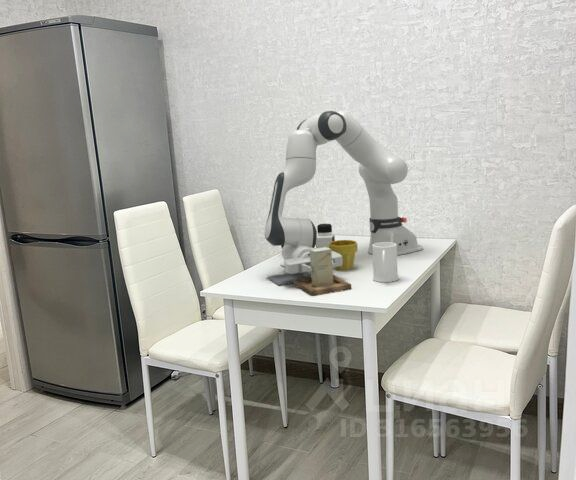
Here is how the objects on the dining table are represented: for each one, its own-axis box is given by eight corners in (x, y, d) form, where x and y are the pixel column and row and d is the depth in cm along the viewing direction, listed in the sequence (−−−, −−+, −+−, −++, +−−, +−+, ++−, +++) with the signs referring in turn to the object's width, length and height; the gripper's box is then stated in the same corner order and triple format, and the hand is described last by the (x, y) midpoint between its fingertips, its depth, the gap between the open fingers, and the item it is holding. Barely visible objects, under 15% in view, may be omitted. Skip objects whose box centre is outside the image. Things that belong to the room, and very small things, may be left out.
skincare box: (317, 288, 187) (314, 251, 185) (311, 285, 191) (308, 249, 189) (334, 284, 190) (331, 248, 187) (328, 281, 194) (325, 246, 191)
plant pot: (355, 272, 207) (353, 245, 205) (327, 271, 210) (325, 245, 208) (360, 265, 216) (359, 239, 214) (334, 264, 220) (332, 239, 218)
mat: (298, 273, 210) (298, 271, 210) (311, 280, 199) (311, 279, 199) (267, 278, 206) (267, 276, 206) (278, 286, 195) (278, 284, 195)
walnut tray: (330, 278, 201) (330, 273, 200) (351, 289, 186) (351, 284, 186) (293, 284, 196) (293, 279, 196) (311, 296, 181) (311, 291, 181)
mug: (395, 285, 186) (394, 249, 184) (369, 285, 189) (367, 249, 187) (400, 276, 197) (399, 241, 195) (375, 275, 200) (373, 241, 198)
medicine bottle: (333, 253, 239) (331, 225, 236) (316, 254, 240) (314, 225, 238) (335, 249, 246) (333, 222, 243) (318, 250, 247) (317, 222, 245)
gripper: (277, 255, 197) (292, 263, 185) (331, 247, 204) (349, 254, 192) (279, 273, 199) (293, 282, 186) (332, 264, 205) (350, 272, 193)
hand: (322, 267), depth 189 cm, fingers closed on skincare box, 6 cm apart
